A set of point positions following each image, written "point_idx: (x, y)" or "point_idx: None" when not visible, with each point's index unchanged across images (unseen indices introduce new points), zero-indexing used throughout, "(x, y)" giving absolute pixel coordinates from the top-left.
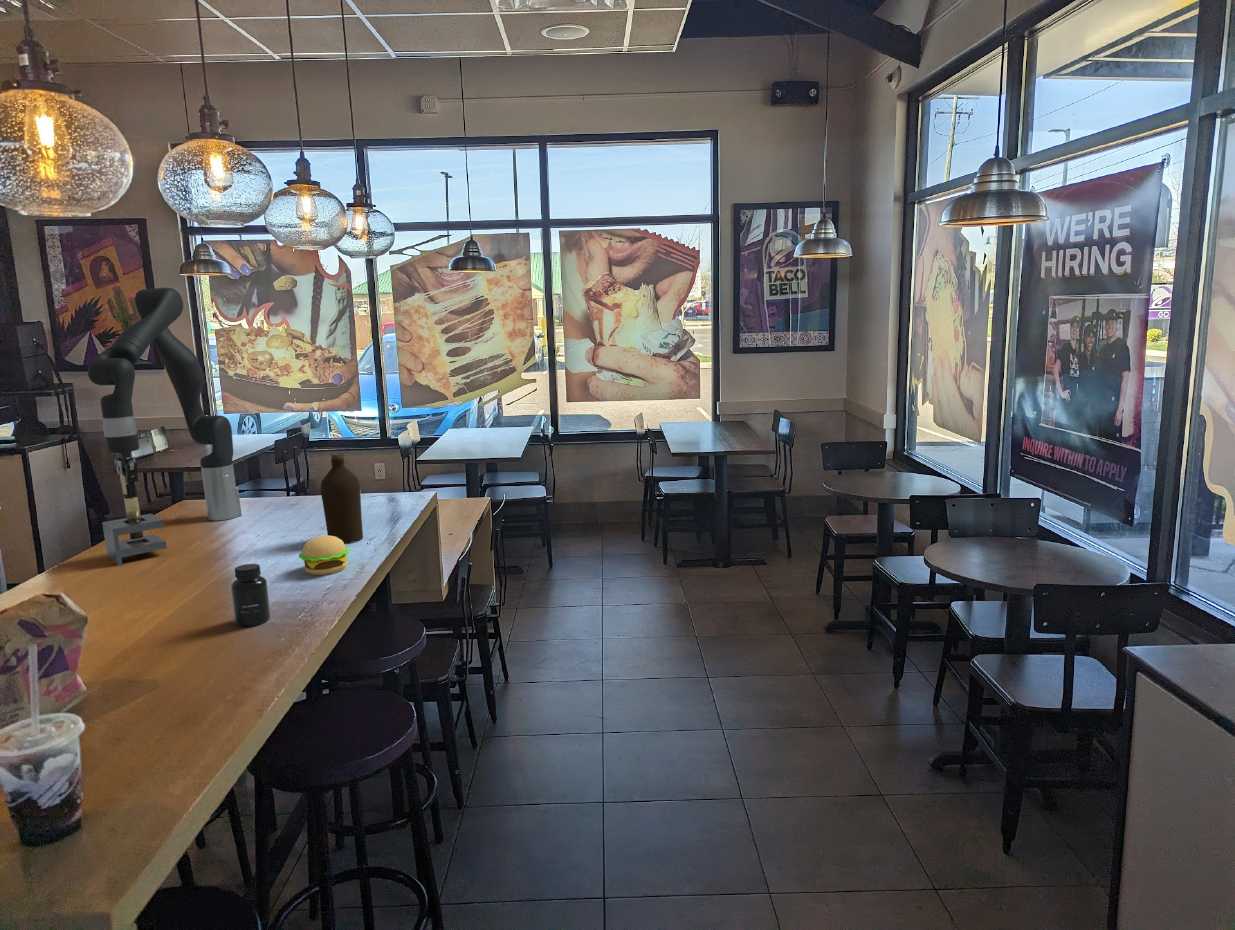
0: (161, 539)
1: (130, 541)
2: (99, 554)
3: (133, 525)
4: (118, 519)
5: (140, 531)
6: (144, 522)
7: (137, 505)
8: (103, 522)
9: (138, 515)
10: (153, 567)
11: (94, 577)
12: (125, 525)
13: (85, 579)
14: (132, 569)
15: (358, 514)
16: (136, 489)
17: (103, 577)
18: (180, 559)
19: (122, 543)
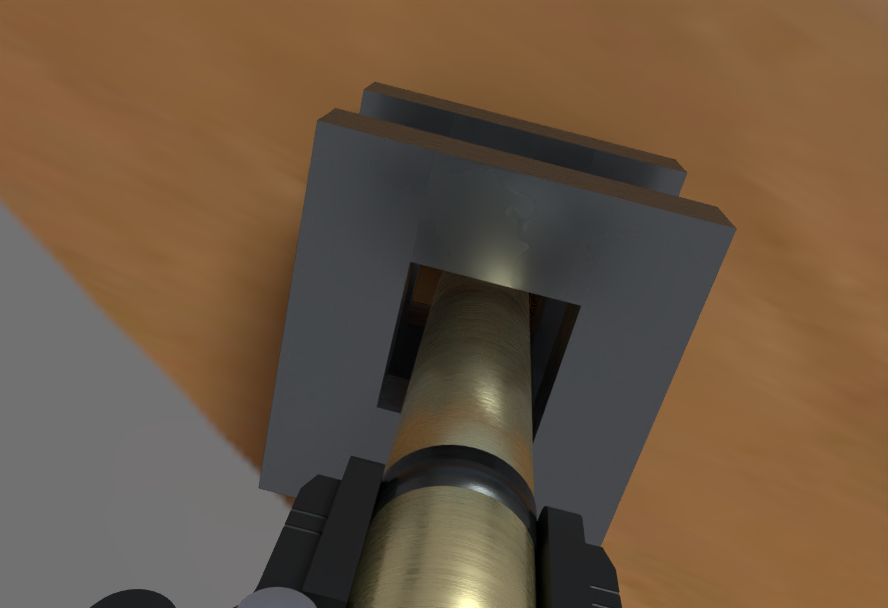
0: (602, 161)
1: (412, 293)
2: (207, 330)
3: (641, 449)
4: (278, 388)
5: (528, 307)
6: (644, 359)
7: (524, 421)
8: (275, 487)
9: (528, 370)
10: (831, 344)
11: (656, 553)
12: (574, 476)
13: (643, 582)
14: (731, 412)
15: None
16: (489, 523)
17: (706, 538)
18: (863, 168)
19: (417, 346)
